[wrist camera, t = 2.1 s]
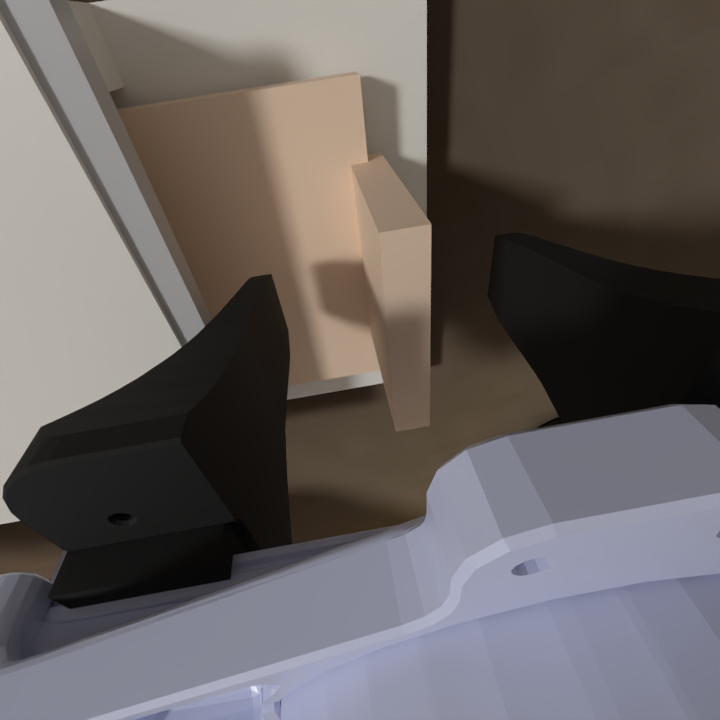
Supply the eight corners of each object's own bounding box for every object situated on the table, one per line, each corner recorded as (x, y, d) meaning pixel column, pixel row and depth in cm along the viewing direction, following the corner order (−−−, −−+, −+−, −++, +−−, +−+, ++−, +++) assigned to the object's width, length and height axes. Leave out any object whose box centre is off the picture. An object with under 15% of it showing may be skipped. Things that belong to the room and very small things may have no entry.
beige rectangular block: (395, 354, 17) (429, 464, 12) (14, 420, 16) (-83, 556, 12) (374, 68, 10) (432, 95, 6) (-267, 169, 10) (-698, 276, 5)
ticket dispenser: (421, 361, 19) (452, 443, 15) (18, 432, 19) (-52, 533, 15) (417, -43, 10) (492, -88, 6) (-384, 80, 9) (-839, 112, 6)
